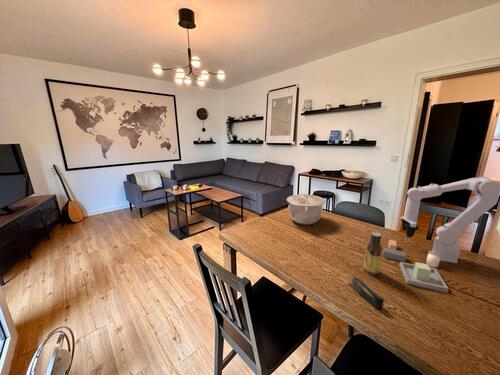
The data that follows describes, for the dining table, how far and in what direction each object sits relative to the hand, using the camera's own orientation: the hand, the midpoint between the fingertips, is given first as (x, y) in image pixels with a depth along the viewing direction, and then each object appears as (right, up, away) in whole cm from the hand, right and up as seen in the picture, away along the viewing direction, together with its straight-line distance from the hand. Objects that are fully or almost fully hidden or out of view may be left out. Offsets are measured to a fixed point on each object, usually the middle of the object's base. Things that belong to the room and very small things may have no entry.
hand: (407, 233), depth 113 cm
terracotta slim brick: (-6, -9, +4) cm, 11 cm away
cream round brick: (+4, -13, -11) cm, 17 cm away
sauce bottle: (-29, -15, -15) cm, 35 cm away
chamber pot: (-45, 0, +42) cm, 62 cm away
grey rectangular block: (-11, -12, -5) cm, 16 cm away
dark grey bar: (-40, -19, -29) cm, 53 cm away
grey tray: (-9, -15, -20) cm, 27 cm away
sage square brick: (-9, -15, -20) cm, 27 cm away
